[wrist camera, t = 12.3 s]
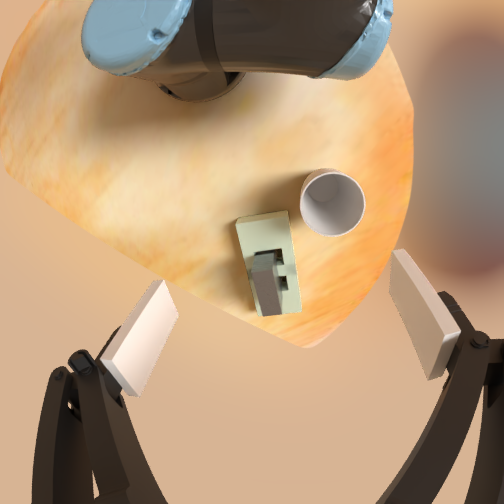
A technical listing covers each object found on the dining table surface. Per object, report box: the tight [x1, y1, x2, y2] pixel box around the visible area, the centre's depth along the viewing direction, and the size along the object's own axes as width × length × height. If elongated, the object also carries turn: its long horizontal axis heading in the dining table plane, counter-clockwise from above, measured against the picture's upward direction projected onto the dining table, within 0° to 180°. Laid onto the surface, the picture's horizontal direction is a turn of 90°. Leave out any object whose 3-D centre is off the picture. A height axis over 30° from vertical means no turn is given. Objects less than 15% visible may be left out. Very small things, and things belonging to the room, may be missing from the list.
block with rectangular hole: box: [235, 210, 302, 316], centre depth 46 cm, size 18×8×3 cm, turn 12°
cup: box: [300, 169, 365, 237], centre depth 35 cm, size 8×8×10 cm
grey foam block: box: [251, 249, 283, 316], centre depth 43 cm, size 8×3×9 cm, turn 13°
